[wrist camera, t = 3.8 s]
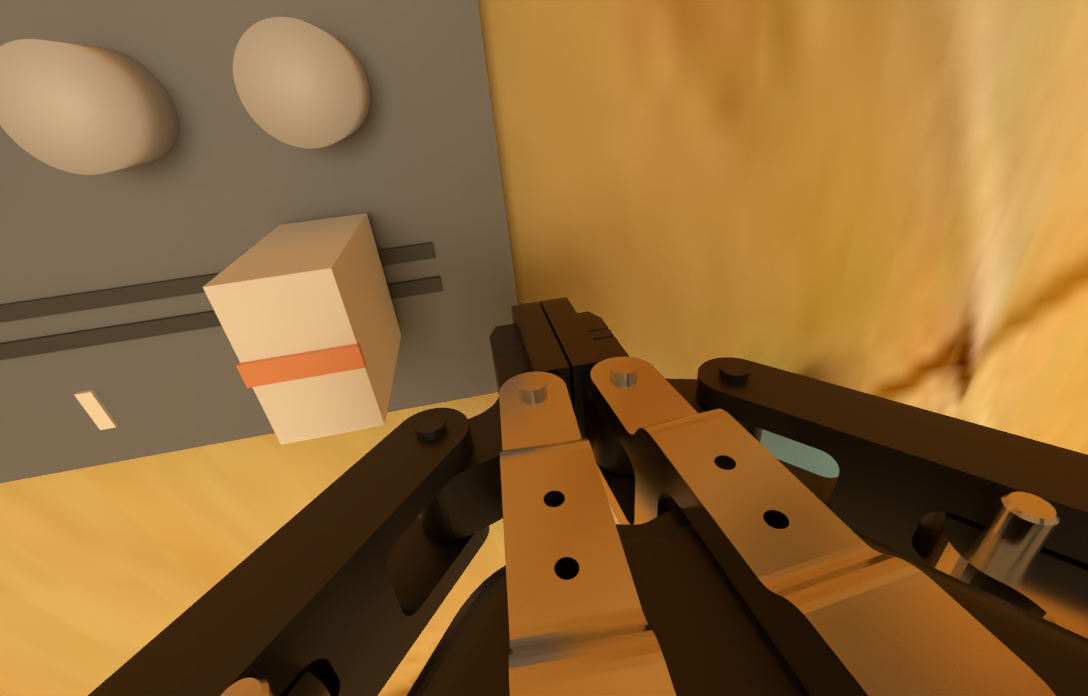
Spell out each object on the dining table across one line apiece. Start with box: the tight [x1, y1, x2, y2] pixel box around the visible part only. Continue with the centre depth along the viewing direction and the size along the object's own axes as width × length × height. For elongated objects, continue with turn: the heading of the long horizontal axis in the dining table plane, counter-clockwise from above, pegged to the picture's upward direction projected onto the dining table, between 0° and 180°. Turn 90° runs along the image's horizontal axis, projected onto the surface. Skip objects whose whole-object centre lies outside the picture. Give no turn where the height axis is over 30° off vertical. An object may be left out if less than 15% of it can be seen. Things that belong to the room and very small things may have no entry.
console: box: [0, 0, 518, 483], centre depth 17 cm, size 25×16×4 cm, turn 96°
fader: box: [203, 213, 401, 445], centre depth 15 cm, size 3×5×6 cm, turn 6°
